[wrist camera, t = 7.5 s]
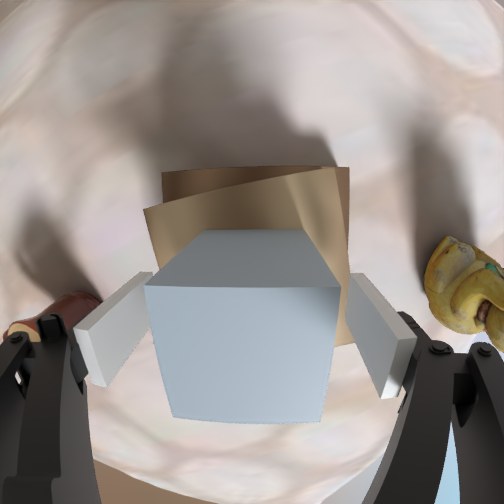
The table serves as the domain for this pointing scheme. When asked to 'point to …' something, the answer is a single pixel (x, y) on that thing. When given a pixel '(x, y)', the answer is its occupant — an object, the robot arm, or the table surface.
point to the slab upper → (262, 221)
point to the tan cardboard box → (243, 182)
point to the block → (245, 327)
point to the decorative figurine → (466, 290)
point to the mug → (66, 305)
